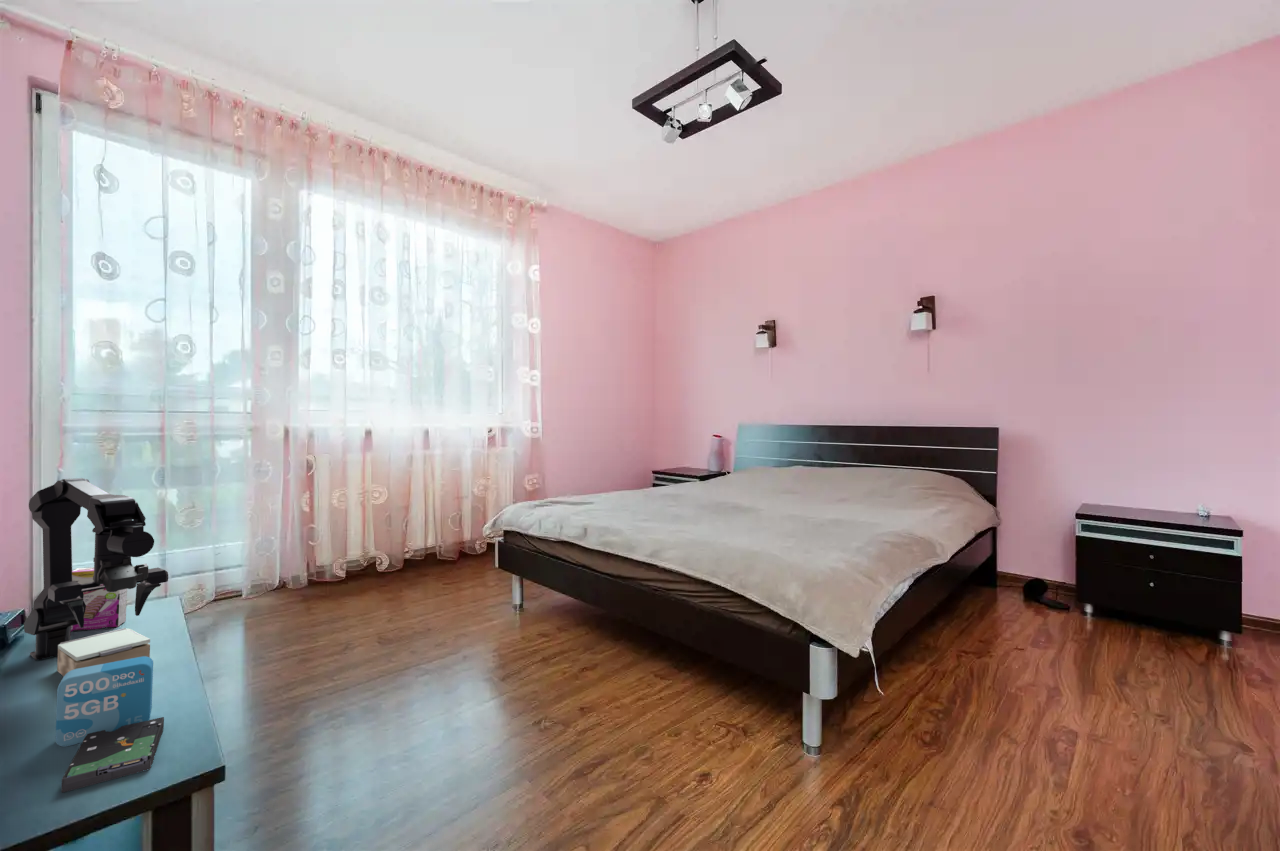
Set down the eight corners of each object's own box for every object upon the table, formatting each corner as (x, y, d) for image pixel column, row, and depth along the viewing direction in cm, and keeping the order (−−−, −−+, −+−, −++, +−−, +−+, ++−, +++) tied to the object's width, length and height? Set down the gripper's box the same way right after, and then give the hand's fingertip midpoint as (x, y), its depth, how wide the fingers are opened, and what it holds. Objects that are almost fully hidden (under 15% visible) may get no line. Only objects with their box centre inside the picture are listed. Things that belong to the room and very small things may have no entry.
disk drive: (84, 750, 92) (60, 796, 80) (85, 733, 92) (60, 778, 80) (164, 730, 98) (152, 771, 86) (164, 715, 98) (153, 754, 86)
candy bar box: (63, 633, 141) (65, 572, 141) (73, 627, 145) (75, 567, 146) (118, 627, 146) (120, 568, 146) (126, 621, 150) (128, 564, 150)
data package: (54, 750, 91) (57, 680, 91) (60, 738, 94) (62, 670, 94) (149, 726, 98) (151, 661, 98) (151, 716, 102) (153, 653, 102)
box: (57, 670, 119) (57, 648, 119) (128, 652, 130) (128, 632, 130) (75, 687, 112) (76, 663, 112) (149, 666, 123) (150, 644, 123)
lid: (56, 647, 120) (56, 643, 120) (127, 631, 130) (127, 627, 130) (78, 662, 112) (78, 657, 112) (152, 643, 122) (152, 639, 122)
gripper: (63, 566, 108) (60, 642, 107) (178, 549, 124) (176, 616, 123) (48, 559, 113) (45, 631, 113) (160, 544, 129) (158, 607, 129)
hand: (110, 621), depth 120 cm, fingers open, 9 cm apart
